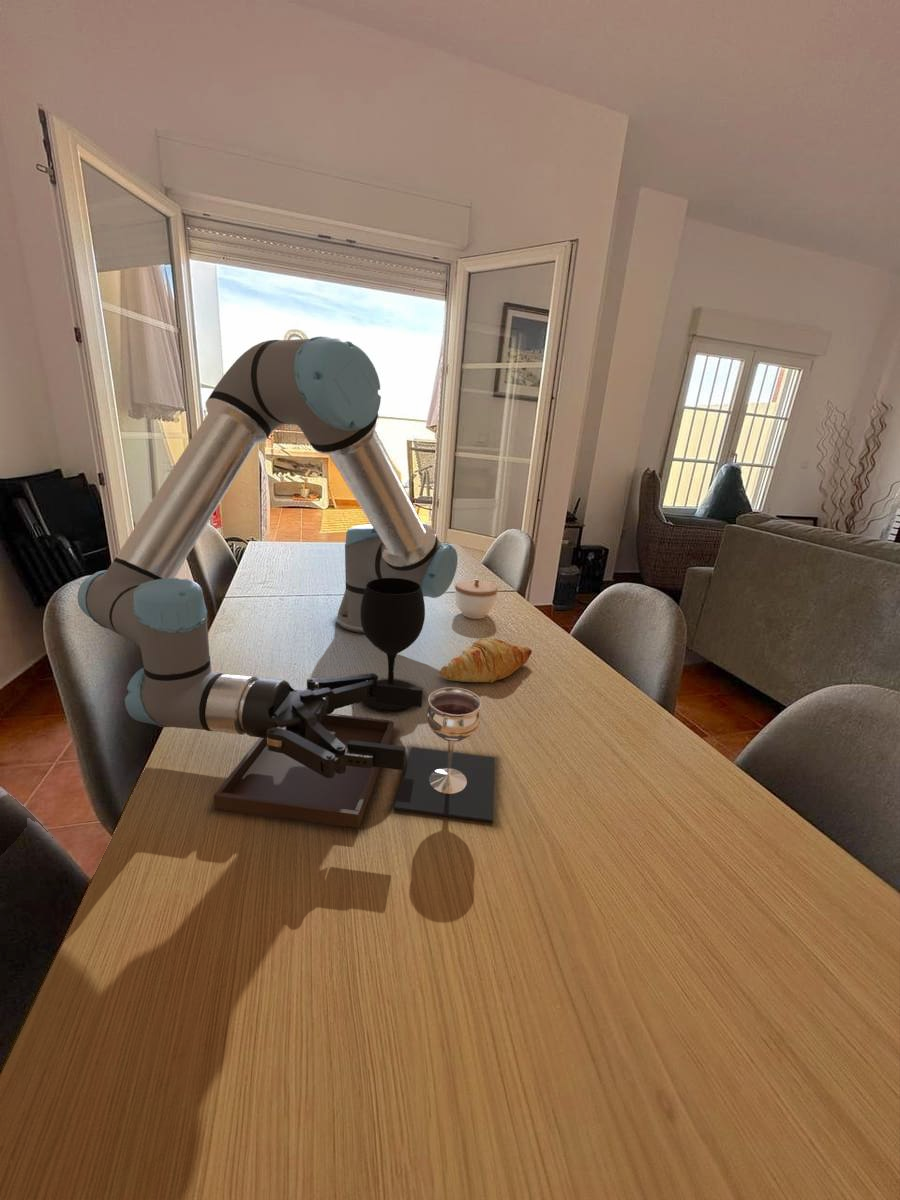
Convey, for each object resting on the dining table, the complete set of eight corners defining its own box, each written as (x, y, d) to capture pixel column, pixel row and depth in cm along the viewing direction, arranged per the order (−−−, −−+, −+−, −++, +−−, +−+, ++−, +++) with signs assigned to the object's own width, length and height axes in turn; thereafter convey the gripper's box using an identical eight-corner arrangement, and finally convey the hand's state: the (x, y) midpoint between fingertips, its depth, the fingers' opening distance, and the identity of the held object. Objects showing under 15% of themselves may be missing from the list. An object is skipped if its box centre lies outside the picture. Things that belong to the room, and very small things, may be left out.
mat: (411, 749, 70) (411, 747, 70) (493, 759, 69) (494, 757, 69) (393, 809, 58) (394, 807, 58) (492, 822, 58) (492, 820, 57)
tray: (284, 718, 75) (283, 707, 74) (393, 732, 73) (393, 720, 73) (214, 809, 56) (213, 795, 56) (358, 828, 55) (358, 814, 55)
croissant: (447, 706, 88) (461, 681, 82) (424, 662, 93) (435, 636, 88) (534, 679, 99) (551, 656, 93) (509, 642, 104) (524, 618, 99)
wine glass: (412, 716, 78) (418, 599, 71) (350, 707, 79) (351, 591, 72) (425, 685, 87) (432, 580, 81) (370, 677, 89) (372, 573, 82)
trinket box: (496, 623, 119) (500, 587, 116) (452, 620, 119) (455, 584, 116) (492, 608, 129) (496, 575, 126) (453, 605, 129) (455, 572, 126)
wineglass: (412, 786, 62) (417, 704, 58) (437, 757, 68) (443, 681, 64) (459, 806, 59) (468, 722, 55) (481, 774, 65) (490, 696, 61)
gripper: (292, 685, 76) (426, 700, 74) (200, 796, 52) (393, 822, 51) (291, 641, 73) (428, 656, 72) (193, 738, 50) (395, 763, 48)
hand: (414, 725), depth 61 cm, fingers open, 13 cm apart
